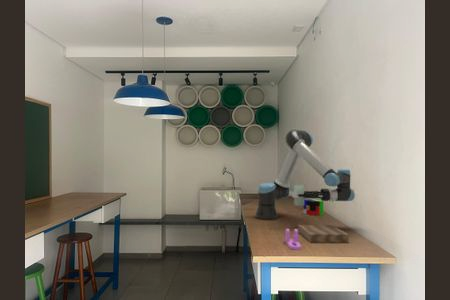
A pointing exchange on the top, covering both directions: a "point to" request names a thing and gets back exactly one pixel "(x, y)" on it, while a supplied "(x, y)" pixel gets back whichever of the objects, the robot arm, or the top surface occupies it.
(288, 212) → the top surface
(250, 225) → the top surface
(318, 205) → the puzzle toy
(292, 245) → the bracket
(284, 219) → the top surface
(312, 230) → the walnut base
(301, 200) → the green post
